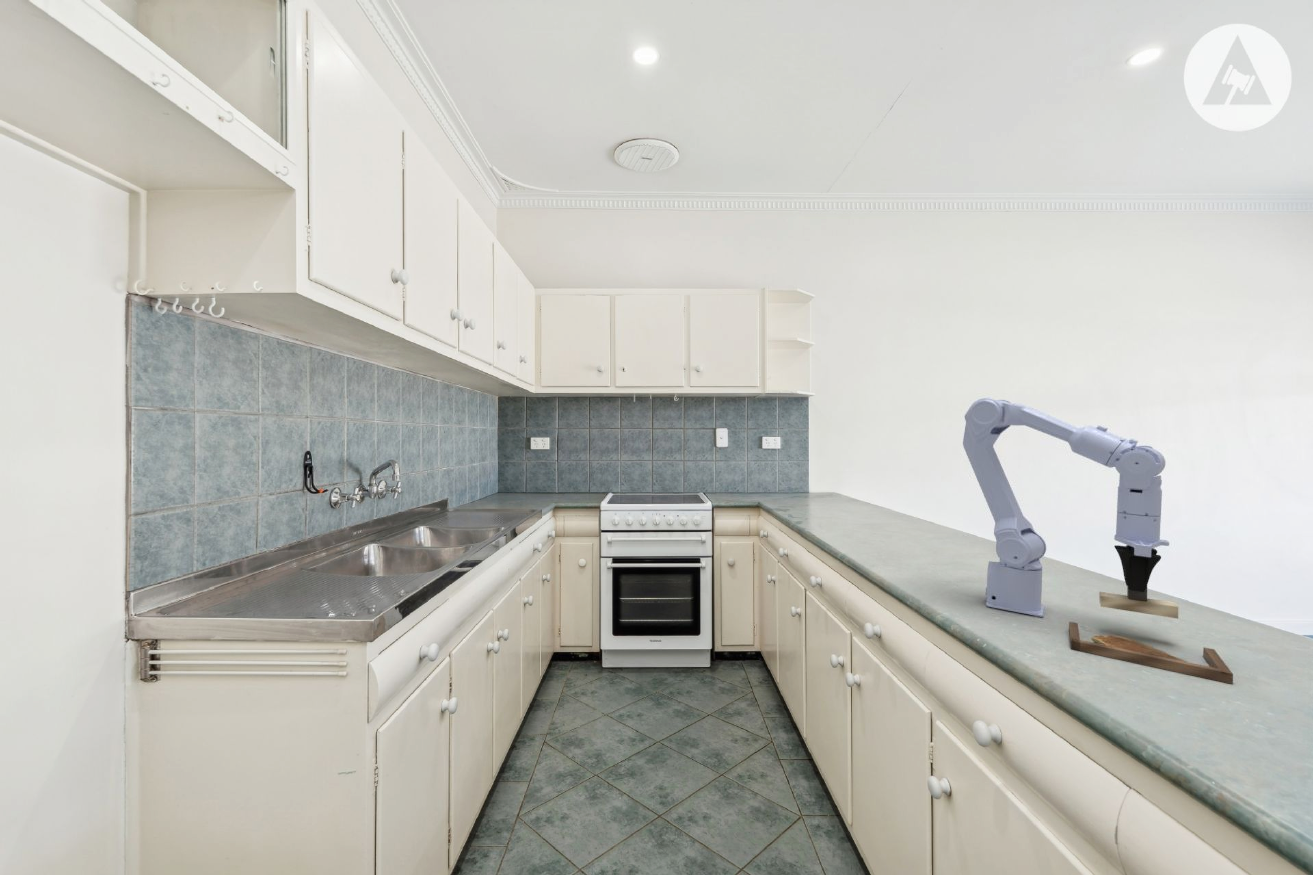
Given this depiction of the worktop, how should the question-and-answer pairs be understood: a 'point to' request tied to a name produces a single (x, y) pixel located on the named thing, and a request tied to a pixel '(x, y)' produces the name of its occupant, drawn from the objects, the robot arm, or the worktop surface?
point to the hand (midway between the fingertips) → (1135, 588)
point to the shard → (1130, 645)
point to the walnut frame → (1156, 658)
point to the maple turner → (1138, 603)
